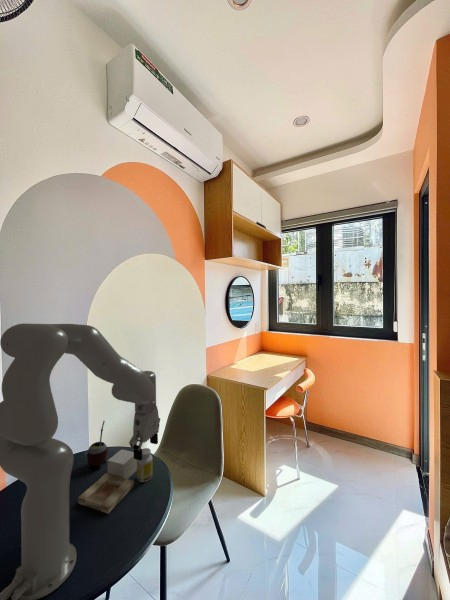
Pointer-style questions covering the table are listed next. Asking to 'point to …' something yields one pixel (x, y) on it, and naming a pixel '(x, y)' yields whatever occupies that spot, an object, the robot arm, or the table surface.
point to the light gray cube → (122, 464)
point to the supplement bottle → (145, 466)
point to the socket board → (106, 492)
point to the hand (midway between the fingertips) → (146, 450)
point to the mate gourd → (97, 453)
